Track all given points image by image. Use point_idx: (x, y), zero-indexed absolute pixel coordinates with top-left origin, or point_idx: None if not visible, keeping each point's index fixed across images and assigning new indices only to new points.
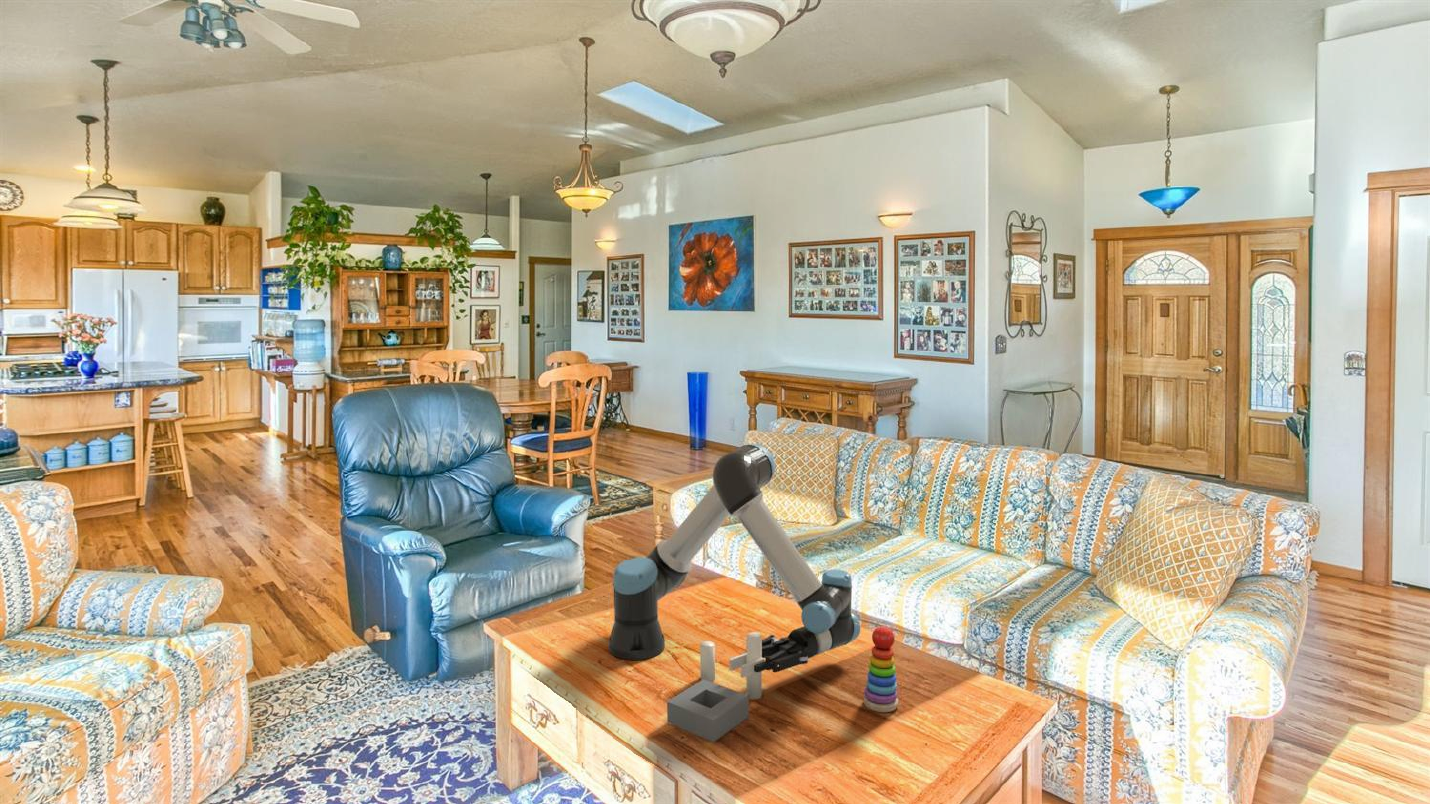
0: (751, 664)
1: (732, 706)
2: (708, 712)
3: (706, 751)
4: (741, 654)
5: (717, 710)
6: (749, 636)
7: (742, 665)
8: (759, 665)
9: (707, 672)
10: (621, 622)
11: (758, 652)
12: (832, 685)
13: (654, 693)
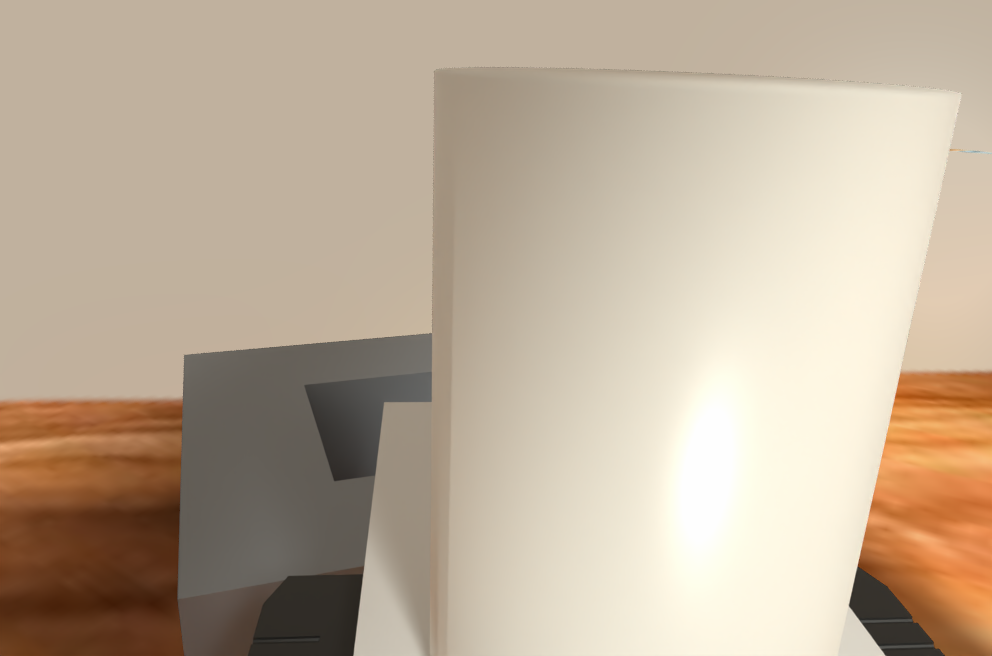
0: (373, 504)
1: (187, 450)
2: (276, 366)
3: (175, 445)
4: (910, 623)
5: (245, 392)
6: (671, 72)
7: (416, 408)
8: (283, 626)
9: None
10: None
11: (435, 492)
12: None
13: (906, 501)
